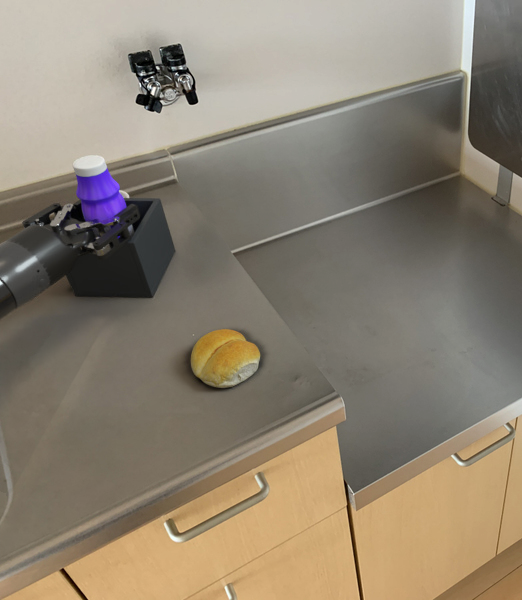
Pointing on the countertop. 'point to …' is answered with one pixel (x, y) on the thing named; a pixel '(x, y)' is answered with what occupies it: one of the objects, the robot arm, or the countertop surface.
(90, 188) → the bottle
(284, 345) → the countertop surface
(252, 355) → the bread roll
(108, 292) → the trash bin
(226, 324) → the countertop surface
